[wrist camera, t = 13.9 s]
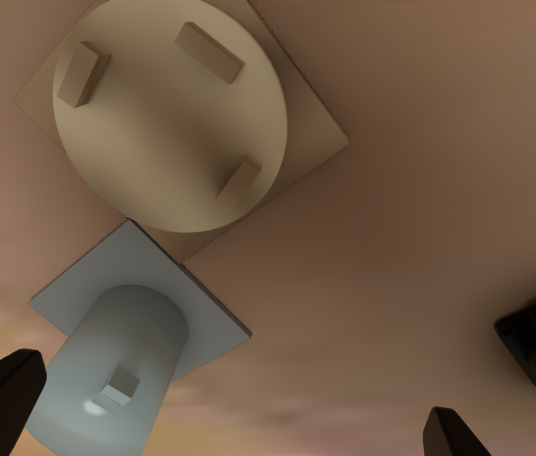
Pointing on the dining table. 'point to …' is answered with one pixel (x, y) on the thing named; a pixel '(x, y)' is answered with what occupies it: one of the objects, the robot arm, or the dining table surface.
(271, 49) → the turntable base
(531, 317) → the robot arm
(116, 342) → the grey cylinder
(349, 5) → the dining table surface
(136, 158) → the turntable
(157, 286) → the mat
